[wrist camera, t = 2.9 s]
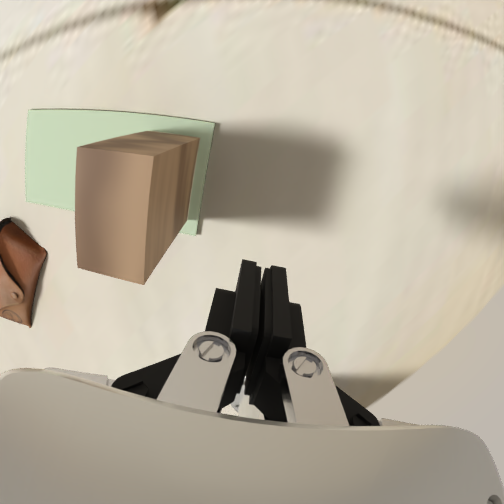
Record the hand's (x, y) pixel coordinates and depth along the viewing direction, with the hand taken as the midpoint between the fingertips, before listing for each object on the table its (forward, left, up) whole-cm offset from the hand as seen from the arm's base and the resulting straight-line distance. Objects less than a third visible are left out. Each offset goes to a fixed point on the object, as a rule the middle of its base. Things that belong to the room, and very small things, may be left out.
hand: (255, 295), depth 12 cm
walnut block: (+7, +5, -17) cm, 20 cm away
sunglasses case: (+18, +32, -19) cm, 41 cm away
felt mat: (+14, +9, -18) cm, 24 cm away
